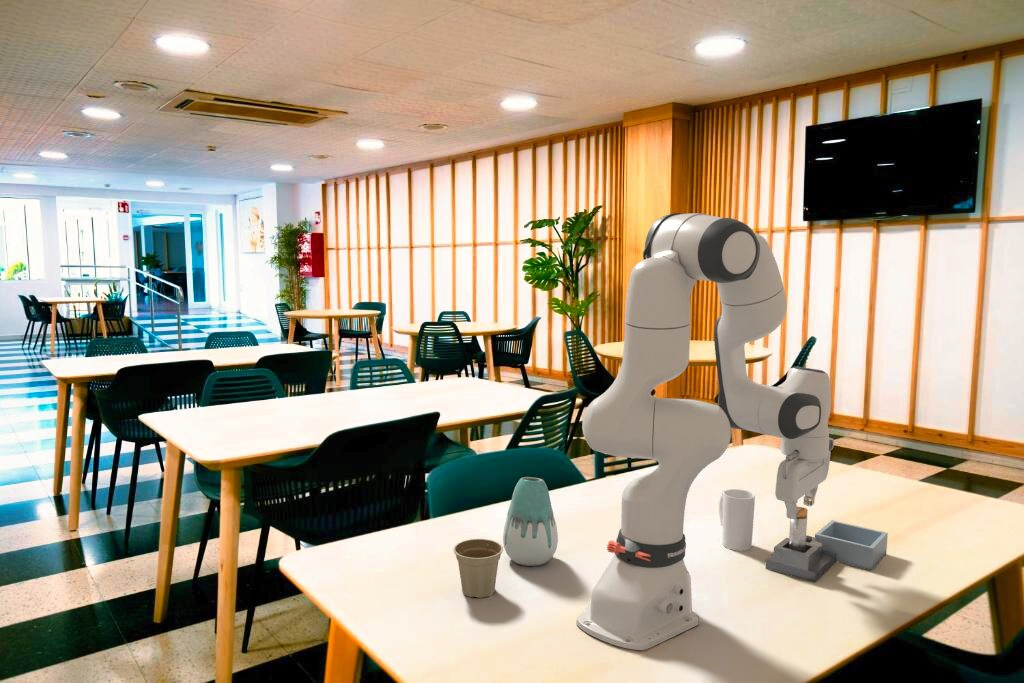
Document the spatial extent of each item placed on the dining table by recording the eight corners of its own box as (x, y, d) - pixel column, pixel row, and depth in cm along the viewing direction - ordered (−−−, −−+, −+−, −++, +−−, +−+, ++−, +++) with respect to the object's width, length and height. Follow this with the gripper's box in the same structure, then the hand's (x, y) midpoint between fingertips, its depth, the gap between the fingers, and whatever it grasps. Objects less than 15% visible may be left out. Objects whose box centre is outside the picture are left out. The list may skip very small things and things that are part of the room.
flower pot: (484, 607, 130) (484, 562, 129) (443, 594, 135) (443, 550, 134) (512, 588, 138) (512, 545, 137) (472, 576, 142) (472, 535, 142)
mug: (759, 549, 157) (761, 496, 156) (733, 553, 155) (736, 500, 154) (730, 533, 167) (732, 483, 166) (706, 536, 165) (708, 486, 163)
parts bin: (871, 570, 147) (873, 548, 146) (813, 555, 154) (814, 534, 154) (886, 554, 155) (887, 532, 155) (830, 540, 163) (832, 520, 162)
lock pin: (801, 565, 144) (804, 512, 143) (785, 560, 146) (788, 509, 145) (807, 560, 147) (809, 508, 146) (791, 556, 149) (794, 505, 148)
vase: (529, 544, 159) (530, 466, 157) (568, 560, 151) (570, 478, 149) (491, 559, 151) (492, 477, 149) (530, 576, 143) (531, 490, 141)
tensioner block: (815, 582, 141) (816, 557, 140) (765, 568, 147) (766, 544, 147) (835, 562, 151) (837, 539, 150) (788, 550, 157) (789, 527, 157)
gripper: (801, 460, 134) (797, 530, 136) (836, 438, 149) (832, 501, 151) (768, 453, 138) (765, 521, 140) (806, 433, 153) (802, 495, 155)
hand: (800, 511), depth 146 cm, fingers open, 8 cm apart
